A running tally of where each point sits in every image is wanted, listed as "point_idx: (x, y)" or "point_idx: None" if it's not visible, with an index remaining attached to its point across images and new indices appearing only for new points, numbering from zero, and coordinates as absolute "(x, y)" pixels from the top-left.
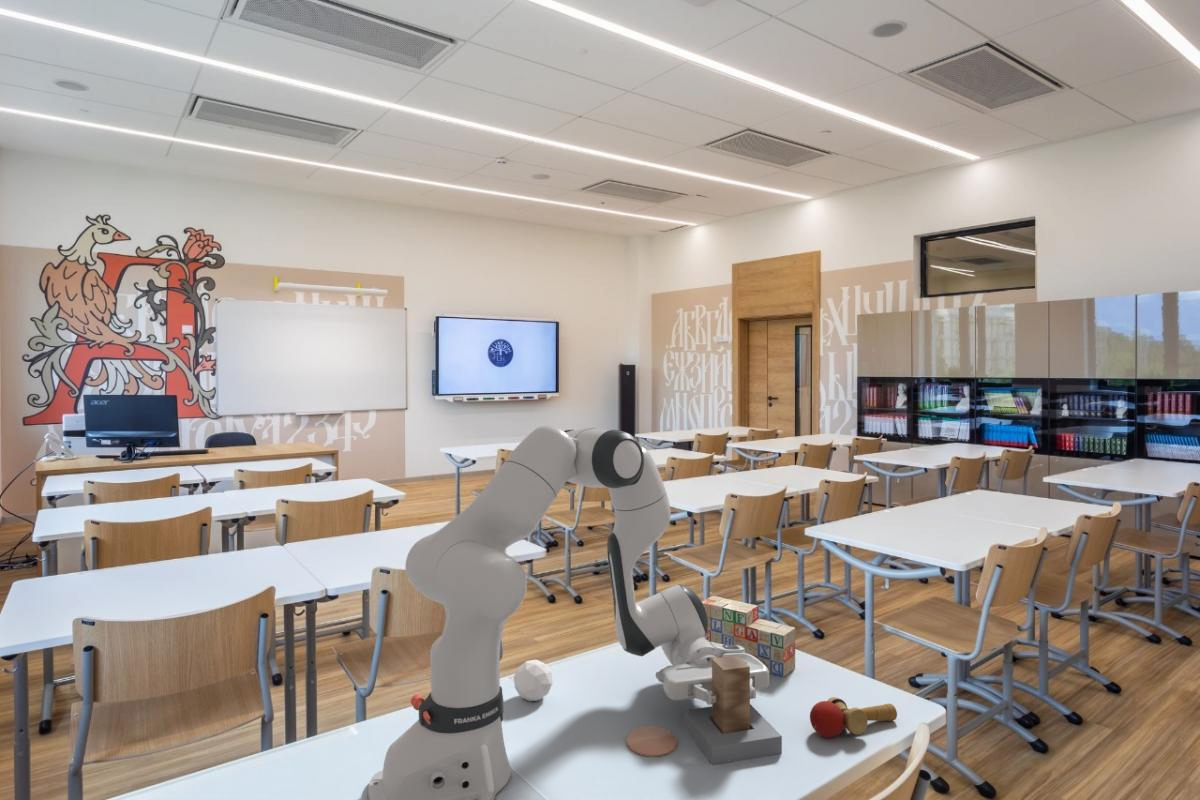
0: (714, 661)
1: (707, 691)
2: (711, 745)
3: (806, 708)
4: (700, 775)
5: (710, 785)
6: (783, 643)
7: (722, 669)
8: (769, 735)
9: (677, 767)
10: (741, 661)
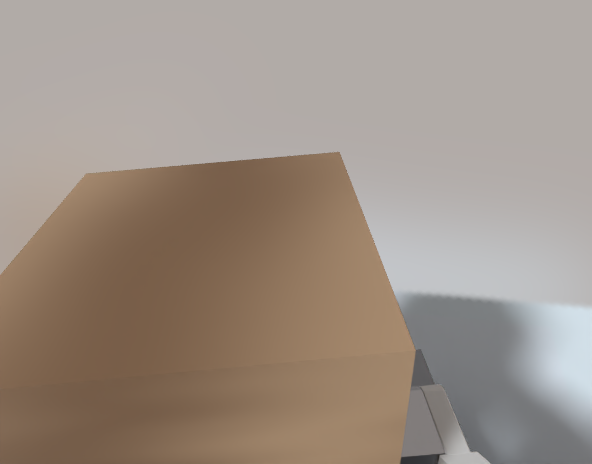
0: (387, 277)
1: (447, 443)
2: (420, 357)
3: None
4: (458, 348)
5: (430, 309)
6: None
7: (342, 164)
8: None
9: (547, 396)
10: (57, 238)
